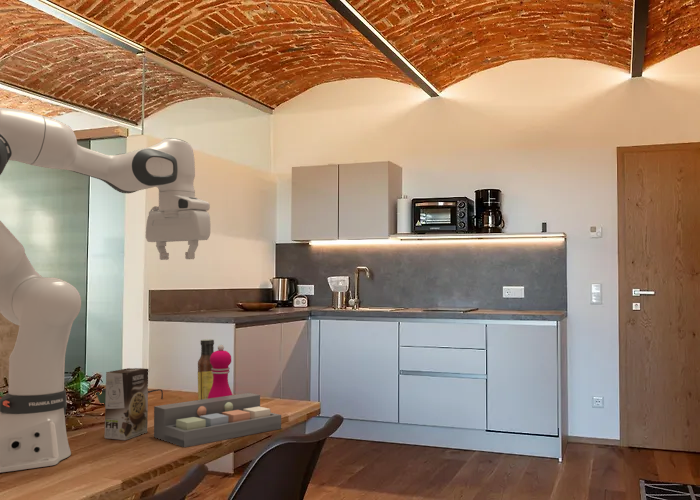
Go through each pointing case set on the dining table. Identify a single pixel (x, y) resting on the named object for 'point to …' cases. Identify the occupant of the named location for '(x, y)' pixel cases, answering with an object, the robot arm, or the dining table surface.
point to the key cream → (258, 412)
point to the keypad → (185, 438)
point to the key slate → (215, 419)
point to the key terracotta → (237, 415)
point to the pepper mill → (220, 373)
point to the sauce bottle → (205, 369)
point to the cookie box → (126, 403)
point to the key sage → (190, 423)
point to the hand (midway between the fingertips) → (176, 259)
